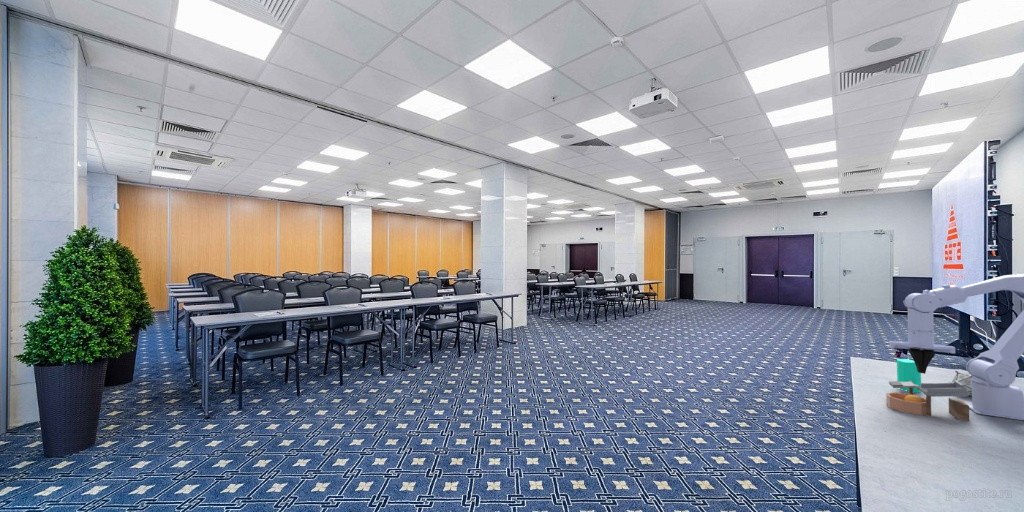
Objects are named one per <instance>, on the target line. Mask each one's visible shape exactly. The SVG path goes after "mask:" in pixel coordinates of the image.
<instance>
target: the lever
mask: <svg viewBox="0 0 1024 512" xmlns="http://www.w3.org/2000/svg"><path fill="white" fill-rule="evenodd" d="M888 383H889V385H890V387H892V388H893V389H898V388H916V389H918V390H920V391H921V392H920V393H923V394H924V395H925V396H926V395H928V396H931V398H932V397H934V398H935V397H941V398H942V397H969V395H968V393H967V391H966V388H965V387H964V385H963V384H962V383H960V382H958V381H957V380H954V383H952V382H950V383H949V382H926V383H925V382H924V383H923V382H921V383H920V385H921V387H919V386H918V385H914V384H913V383H912V382H899V381H896V380H893V381H892V380H891V381H890V380H889V381H888Z"/></svg>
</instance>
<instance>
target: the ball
mask: <svg viewBox="0 0 1024 512" xmlns="http://www.w3.org/2000/svg"><path fill="white" fill-rule="evenodd" d="M917 396H918V395H915V394H913V395H907V396H906V397H905V398H904V401H911V402H918V403H921V402H922V400H921V399H920V398H919V397H920V396H918V397H917Z"/></svg>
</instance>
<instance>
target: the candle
mask: <svg viewBox="0 0 1024 512" xmlns="http://www.w3.org/2000/svg"><path fill="white" fill-rule="evenodd" d="M909 358H910V357H909V356H907V358H903V359H902V358H897V359H896V376H897V377H896V378H897V379H896V380H897V381H899V382H909V381H912V382H913V384H914V385H918V386H919V387H921V385H920V383H922V373H919V372H917V368H916V365H915V362H914V360H912V359H909ZM901 389H903V390H902V391H904V390H907V391H906V392H909V388H900V389H899V390H901ZM913 393H922V392H921V391H920V390H918V389H916V388H913Z"/></svg>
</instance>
